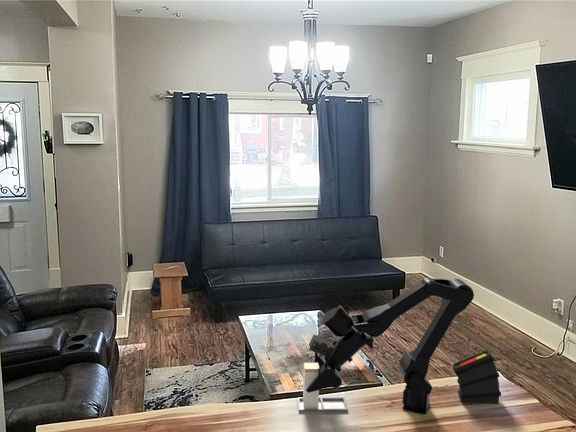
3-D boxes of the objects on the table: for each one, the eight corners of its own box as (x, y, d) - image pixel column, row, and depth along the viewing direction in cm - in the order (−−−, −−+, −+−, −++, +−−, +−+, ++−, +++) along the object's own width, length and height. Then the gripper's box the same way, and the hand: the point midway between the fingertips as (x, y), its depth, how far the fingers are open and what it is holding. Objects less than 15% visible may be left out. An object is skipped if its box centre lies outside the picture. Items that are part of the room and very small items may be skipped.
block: (317, 402, 164) (318, 362, 162) (318, 409, 160) (319, 368, 158) (303, 402, 164) (303, 362, 162) (303, 409, 160) (304, 368, 158)
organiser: (344, 402, 166) (344, 397, 166) (347, 414, 159) (348, 409, 159) (297, 402, 165) (297, 397, 165) (298, 414, 159) (298, 409, 158)
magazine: (511, 399, 165) (492, 354, 163) (468, 416, 167) (448, 372, 165) (506, 393, 169) (487, 349, 167) (464, 410, 170) (445, 366, 168)
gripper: (323, 315, 167) (284, 351, 169) (330, 340, 149) (287, 380, 150) (349, 341, 169) (311, 376, 170) (360, 369, 151) (316, 408, 152)
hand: (306, 384), depth 161 cm, fingers open, 8 cm apart
